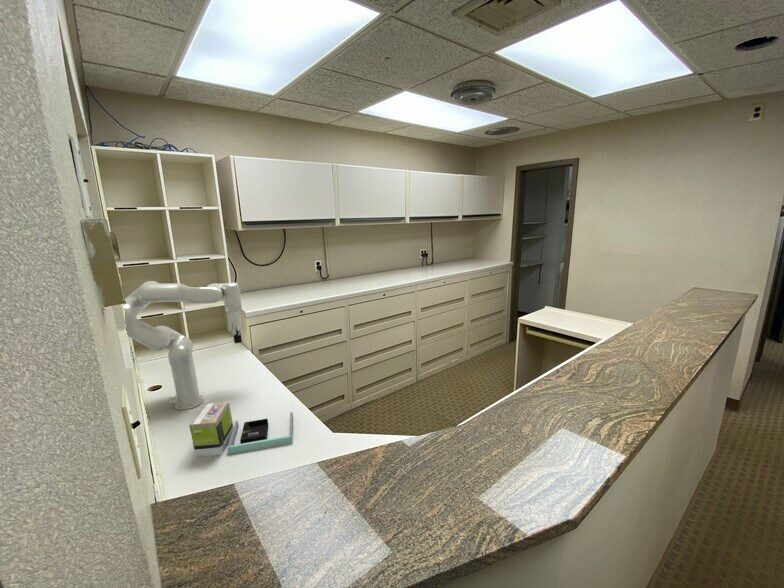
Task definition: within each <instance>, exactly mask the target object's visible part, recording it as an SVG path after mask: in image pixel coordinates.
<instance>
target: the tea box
mask: <svg viewBox="0 0 784 588" xmlns="http://www.w3.org/2000/svg"><path fill="white" fill-rule="evenodd" d="M230 405H231V404H230V402H229V401H225V402H214V403H212V402H211V403H205V404H204V405H203V406H202V408H201V409H200V410H199V412H198V413H197V414H196V416H194V418H193V419H192V421H191V423H189V431H190V435H191V440H192V444H193V448H194V449H193V450H194V455H195V457H196V458H205V457H213V456H222V455H223V453H224V451H225V449H227V448H226V447H228V443H229V440H230V437H231V434H232V430H233V427H234V421H233V416H232V411H231V406H230Z"/></svg>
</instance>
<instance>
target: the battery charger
mask: <svg viewBox="0 0 784 588" xmlns="http://www.w3.org/2000/svg"><path fill="white" fill-rule="evenodd" d="M268 419H269V418H263V419H257V420H250V421H245V422H243V427H242V430H241V431H242V432H241V436H240V439H239V440H240V441H239V442H240V443H239V444H243V443H249V442H255V441H260V440H266V439H268V431H269V420H268Z"/></svg>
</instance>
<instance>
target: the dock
mask: <svg viewBox="0 0 784 588" xmlns="http://www.w3.org/2000/svg"><path fill="white" fill-rule="evenodd" d="M239 426H240V425H239V420H235V422H234V423H233V430H232V434H231V437H230V440H229V442H228V444H227V446H226V447H227V448H226V449H227V455H233V454H238V453H245V452H250V451H256V450H262V449H267V448H271V447H272V448H273V447H279V446H283V445H289V444H293V435H294V434H293V432H294V431H293V430H294V428H293V427H294V413H293V411H290V412H289V427H288V435H286V436H278V437H274V438H267V439H266V440H260V441H255V442H249V443H243V444H241V443H239V444H235V442H236V437H237V436H238V435H237V434H238V431H239Z"/></svg>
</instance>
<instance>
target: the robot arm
mask: <svg viewBox="0 0 784 588" xmlns="http://www.w3.org/2000/svg"><path fill="white" fill-rule="evenodd" d="M222 298H223V304H224V310H225V313H226V314H227V315H226V316H227V318H226V319H227V329H228V330H227V331H228V332H229V333H230V332H232V335H233V342H234V344H241V343H242V341H243V340H242V333H241V328H242V326H243V325H242V324H243V321H242V315H241V311H243V308H242V300H241V292H240V286H239V283H237V282H234V281H233V282H226V283H218V282H217V283H210V284H208V285H206V287H205V286H204V287H203V286H201V287H200V286H199V287H193V286H188V285H186V284H183V283H178V282H177V283H172V282H171V283H169V282H168V283H159V282H158V281H154V280H149V281H148V280H147V281H145V282H143V283H142V284H141V285H140V286H139V287H138V288H137V289H135V290H134V291H133V292H132V293H130V294H128V295H127V296H126V297H125V298H124V299H125V301H126V304H125V305H124V306H122V307H123V308H124V310H125V324H126V331H127V335H128V336H127V337H128V338H130V339H132V340H134V341H136V342H138V343H139V344H142V345H143V346H145V347H148V348H149V349H150V350H153V351H157V352H161V351H164V350H168V353H167V354H168V355H167V357H168V362H169V363H168V364H169V366H170V369H171V374H172V378H173V384H174V390H175V394H176V395H174V396H171V397H170V396H169V397H168V398H167V402H168V403H169V404H173V403H174V409H176V410H178V411H184V410H185V411H187V410H190V409H193V408H196V407H199V406H200V405H201V404H202V403H203V402H204V400H205V398H204V396H203V395H201V394H200V390H199V385H198V379H197V375H196V373H197V372H196V367H195V362H194V357H193V348H194V345H193V342H192V340H191V339H190V338H189V337H186V336H185V335H184V334H181V333H180V332H178V331H176V330H175V329H172V328H171V327H169V326H166V325H156V326H152V325H151V324H149V323H147V322H145V321H143V320H140V319H139V318H137V316H138V315H139V314H140V313H141V311H143V310H144V309H145V308H147V307H148V306H149V305H150V304H152V303H187V304H188V303H189V304H215V303H217V302H219V301H221V300H222Z"/></svg>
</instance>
